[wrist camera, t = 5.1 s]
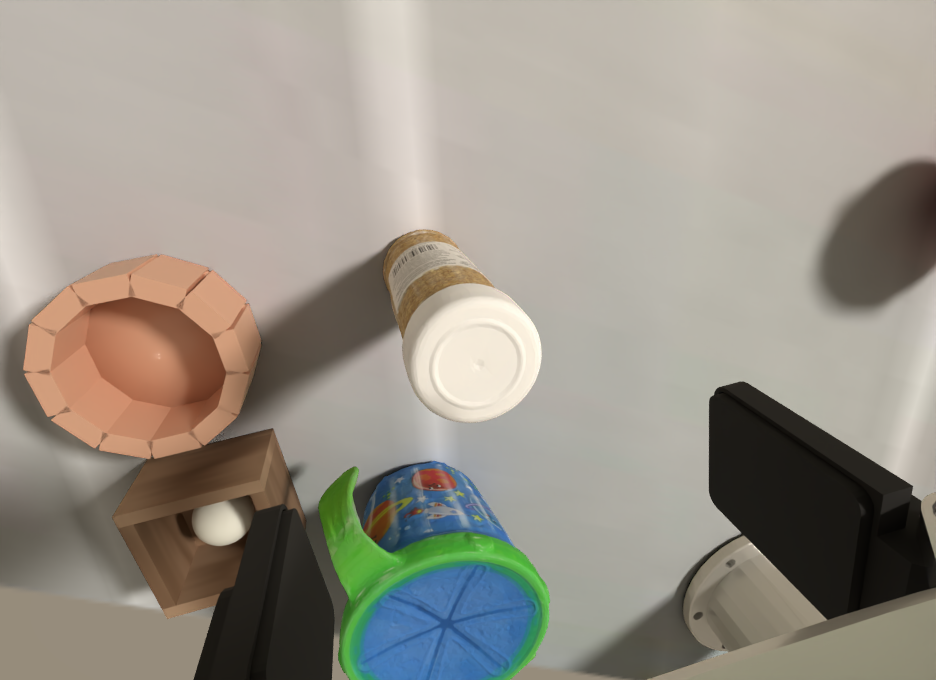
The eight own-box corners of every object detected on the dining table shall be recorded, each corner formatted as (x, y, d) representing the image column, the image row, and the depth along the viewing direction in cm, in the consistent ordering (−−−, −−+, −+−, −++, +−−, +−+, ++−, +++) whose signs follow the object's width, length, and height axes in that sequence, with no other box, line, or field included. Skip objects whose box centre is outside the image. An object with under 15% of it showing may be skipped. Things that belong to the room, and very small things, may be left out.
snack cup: (545, 527, 38) (608, 654, 29) (428, 610, 39) (453, 761, 29) (415, 377, 32) (444, 479, 22) (277, 479, 32) (249, 619, 23)
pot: (227, 240, 27) (208, 257, 23) (280, 394, 30) (270, 430, 26) (36, 277, 25) (-17, 302, 22) (114, 433, 29) (80, 476, 25)
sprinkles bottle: (396, 317, 30) (429, 445, 18) (371, 240, 28) (388, 324, 16) (472, 293, 30) (556, 403, 18) (452, 216, 29) (531, 279, 16)
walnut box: (273, 428, 31) (260, 479, 26) (306, 520, 34) (299, 581, 29) (147, 458, 30) (111, 517, 25) (192, 551, 33) (167, 618, 28)
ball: (248, 468, 31) (238, 503, 28) (265, 511, 32) (256, 549, 29) (191, 483, 30) (175, 520, 27) (211, 525, 32) (197, 565, 29)
